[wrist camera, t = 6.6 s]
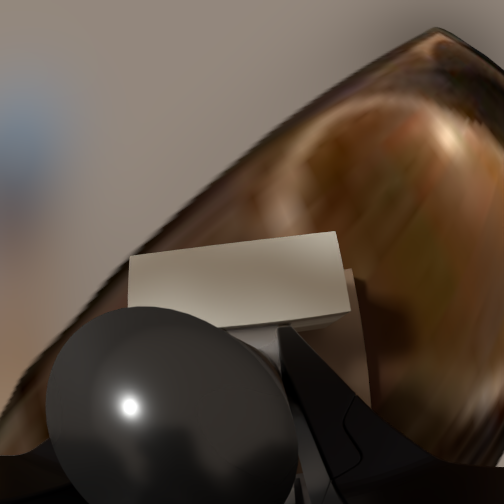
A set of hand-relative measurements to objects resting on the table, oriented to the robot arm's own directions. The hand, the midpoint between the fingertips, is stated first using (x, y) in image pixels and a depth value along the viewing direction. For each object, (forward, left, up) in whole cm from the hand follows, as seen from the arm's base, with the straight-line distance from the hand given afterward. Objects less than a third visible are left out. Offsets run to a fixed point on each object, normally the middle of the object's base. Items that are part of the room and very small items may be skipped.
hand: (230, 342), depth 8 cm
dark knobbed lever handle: (-5, 0, -5) cm, 7 cm away
